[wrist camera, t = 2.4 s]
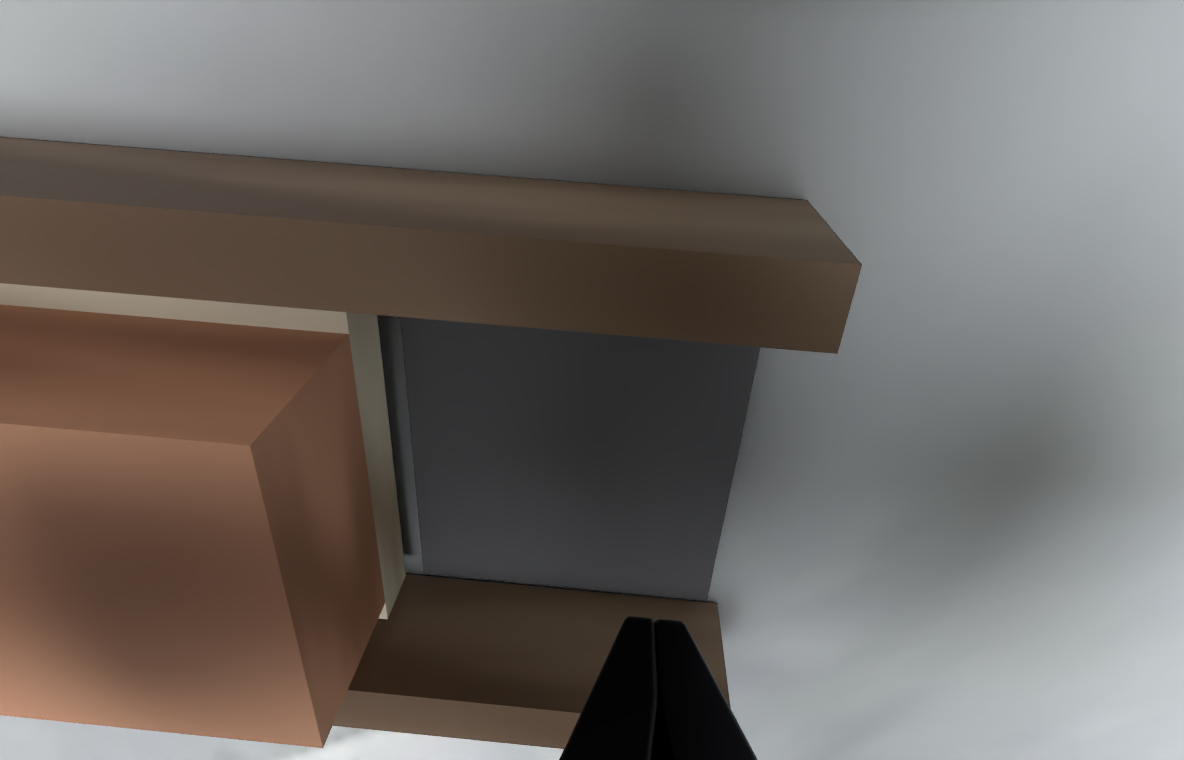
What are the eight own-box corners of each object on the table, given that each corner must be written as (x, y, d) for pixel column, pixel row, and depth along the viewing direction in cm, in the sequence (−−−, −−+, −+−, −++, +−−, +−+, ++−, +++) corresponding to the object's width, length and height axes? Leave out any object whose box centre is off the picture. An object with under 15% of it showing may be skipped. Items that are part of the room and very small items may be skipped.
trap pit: (706, 593, 15) (706, 599, 15) (425, 566, 15) (423, 573, 15) (769, 286, 11) (771, 291, 11) (399, 256, 11) (394, 260, 11)
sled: (405, 575, 15) (326, 765, 11) (52, 542, 15) (-141, 717, 11) (373, 276, 11) (240, 410, 7) (-89, 238, 11) (-436, 349, 8)
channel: (709, 638, 16) (722, 764, 13) (-107, 560, 16) (-250, 666, 14) (807, 200, 10) (862, 265, 8) (-396, 105, 11) (-716, 137, 8)
